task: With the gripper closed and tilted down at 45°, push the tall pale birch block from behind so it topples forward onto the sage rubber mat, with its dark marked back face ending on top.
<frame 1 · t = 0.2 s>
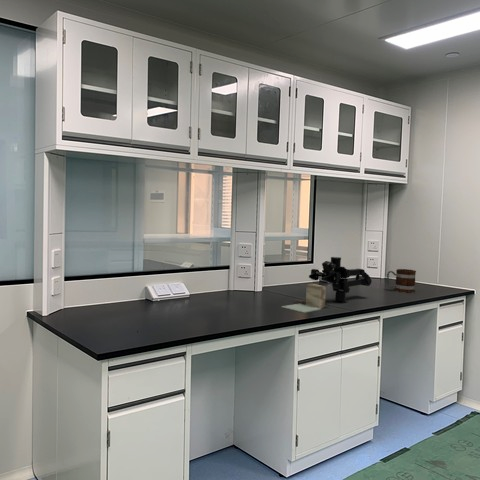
hand: (315, 277, 269), 16 cm above the worktop, fingers open, 9 cm apart
birch block: (315, 306, 271), on the worktop
mug: (400, 291, 333), on the worktop
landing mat: (301, 308, 263), on the worktop
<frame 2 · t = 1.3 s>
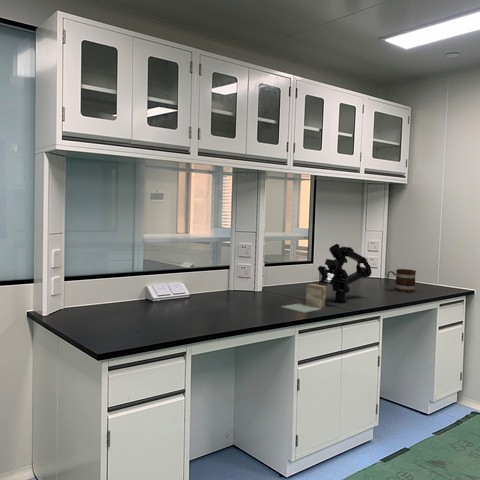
hand: (325, 283, 276), 13 cm above the worktop, fingers open, 6 cm apart
nothing on the worktop moved.
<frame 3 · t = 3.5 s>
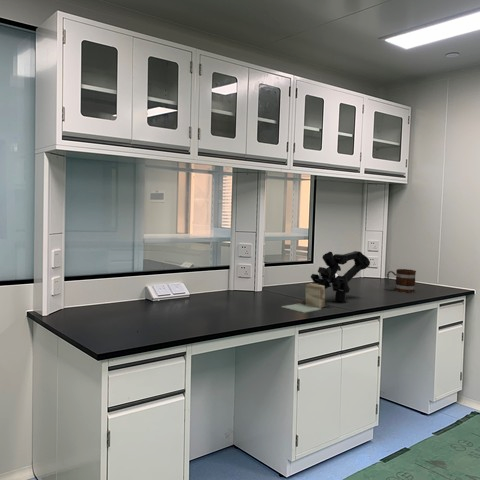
hand: (318, 291, 272), 8 cm above the worktop, fingers closed
birch block: (315, 305, 271), on the worktop, tilted 5°
everything else where it was.
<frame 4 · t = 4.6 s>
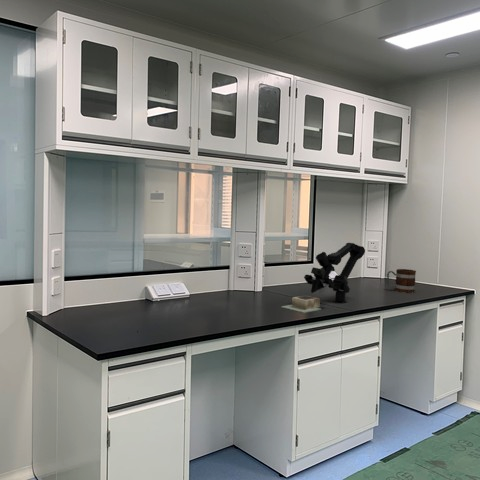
hand: (311, 292, 268), 8 cm above the worktop, fingers closed
birch block: (312, 301, 269), point 3 cm above the worktop, tilted 90°, touching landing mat
everything else where it was.
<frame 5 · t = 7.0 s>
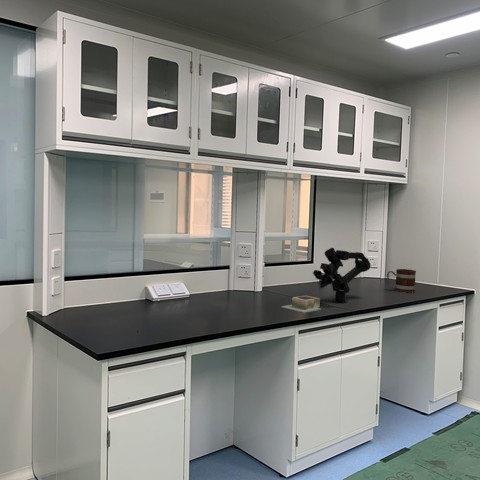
hand: (320, 287, 273), 10 cm above the worktop, fingers closed
nothing on the worktop moved.
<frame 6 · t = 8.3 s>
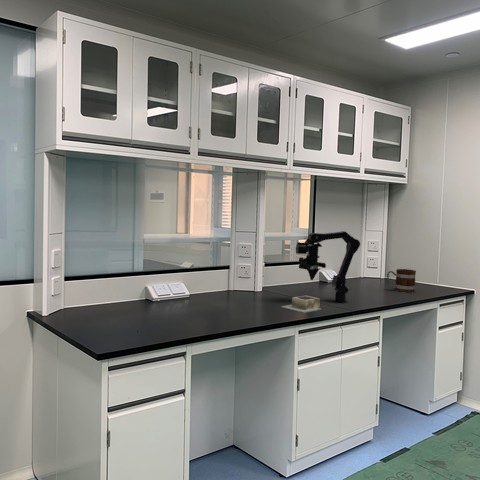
hand: (311, 280, 282), 13 cm above the worktop, fingers closed
nothing on the worktop moved.
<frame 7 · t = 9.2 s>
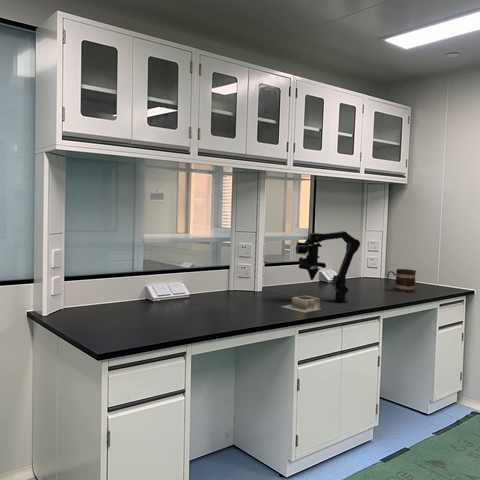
hand: (311, 280, 283), 13 cm above the worktop, fingers closed
nothing on the worktop moved.
at the end: birch block tilted 90°; birch block inside the target area (2.1 cm from its centre), point 3.0 cm above the worktop; birch block touching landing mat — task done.
